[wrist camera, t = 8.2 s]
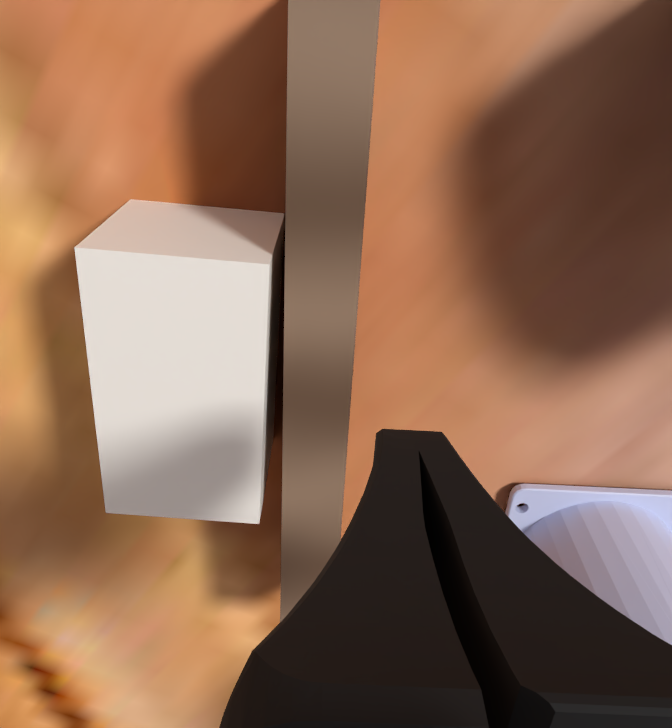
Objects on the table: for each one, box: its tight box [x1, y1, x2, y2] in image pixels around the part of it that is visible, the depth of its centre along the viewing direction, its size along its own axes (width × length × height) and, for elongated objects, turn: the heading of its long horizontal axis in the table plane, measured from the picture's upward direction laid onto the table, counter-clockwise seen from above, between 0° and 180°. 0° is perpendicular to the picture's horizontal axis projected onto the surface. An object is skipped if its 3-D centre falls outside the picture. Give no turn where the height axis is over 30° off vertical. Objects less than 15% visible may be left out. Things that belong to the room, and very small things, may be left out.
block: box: [74, 199, 285, 524], centre depth 20 cm, size 9×5×5 cm, turn 175°
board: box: [280, 0, 380, 622], centre depth 21 cm, size 22×2×4 cm, turn 177°
